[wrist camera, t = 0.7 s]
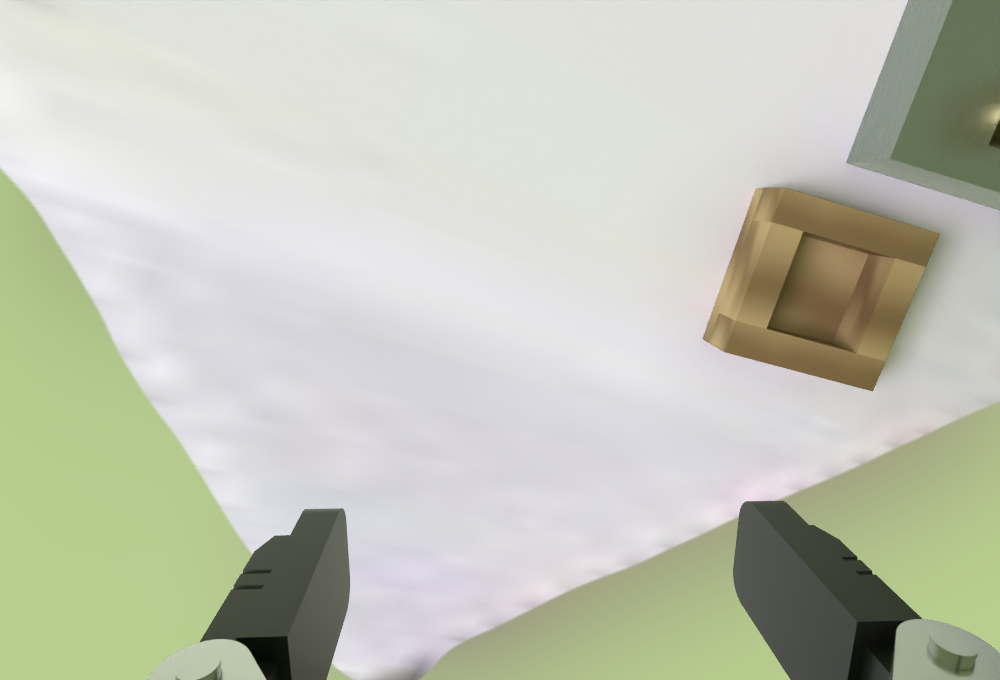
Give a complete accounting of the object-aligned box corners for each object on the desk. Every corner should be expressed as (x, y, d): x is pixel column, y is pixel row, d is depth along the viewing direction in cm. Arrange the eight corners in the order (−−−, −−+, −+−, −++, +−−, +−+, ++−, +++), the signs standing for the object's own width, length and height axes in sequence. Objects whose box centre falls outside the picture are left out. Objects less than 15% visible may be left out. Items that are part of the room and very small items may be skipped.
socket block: (755, 188, 38) (784, 187, 34) (898, 231, 39) (939, 234, 35) (702, 338, 40) (724, 352, 36) (839, 375, 41) (872, 391, 37)
